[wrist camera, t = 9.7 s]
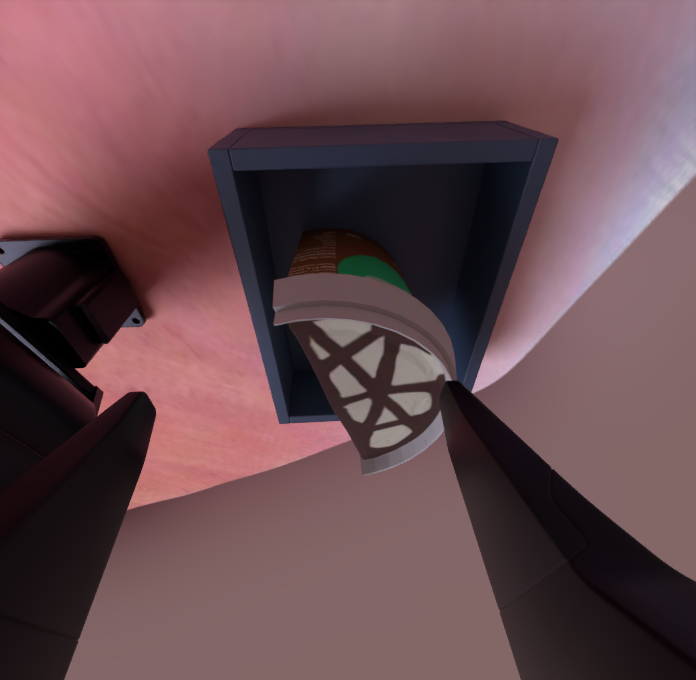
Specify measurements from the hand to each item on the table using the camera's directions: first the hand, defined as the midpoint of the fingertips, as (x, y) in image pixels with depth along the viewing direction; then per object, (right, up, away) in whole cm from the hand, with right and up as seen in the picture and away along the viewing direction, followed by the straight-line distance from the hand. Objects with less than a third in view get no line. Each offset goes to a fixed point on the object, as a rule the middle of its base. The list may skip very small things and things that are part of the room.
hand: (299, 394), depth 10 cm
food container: (+3, +6, +12) cm, 13 cm away
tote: (+3, +6, +12) cm, 14 cm away
